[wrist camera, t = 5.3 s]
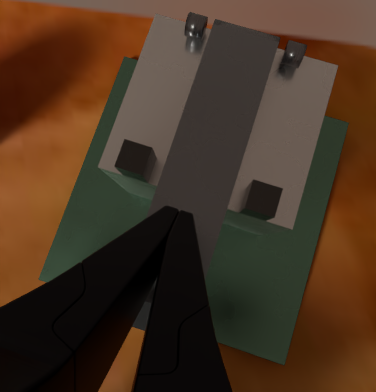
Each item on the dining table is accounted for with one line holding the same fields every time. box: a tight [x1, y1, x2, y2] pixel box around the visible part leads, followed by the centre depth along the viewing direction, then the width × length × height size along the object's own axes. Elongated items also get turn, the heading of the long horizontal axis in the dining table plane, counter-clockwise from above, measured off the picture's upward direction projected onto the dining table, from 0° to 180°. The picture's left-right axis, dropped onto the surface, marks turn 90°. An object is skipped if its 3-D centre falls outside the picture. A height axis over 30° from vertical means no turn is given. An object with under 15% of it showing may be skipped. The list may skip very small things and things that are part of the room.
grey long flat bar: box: [132, 19, 280, 331], centre depth 14 cm, size 14×3×2 cm, turn 162°
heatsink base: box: [39, 12, 349, 365], centre depth 17 cm, size 16×16×9 cm
